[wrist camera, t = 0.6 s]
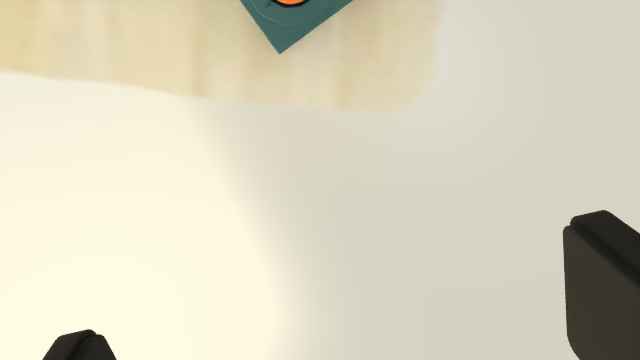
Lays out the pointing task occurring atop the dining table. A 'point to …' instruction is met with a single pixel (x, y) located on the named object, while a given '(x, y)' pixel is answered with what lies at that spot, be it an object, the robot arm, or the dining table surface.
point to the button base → (290, 18)
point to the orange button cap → (290, 1)
